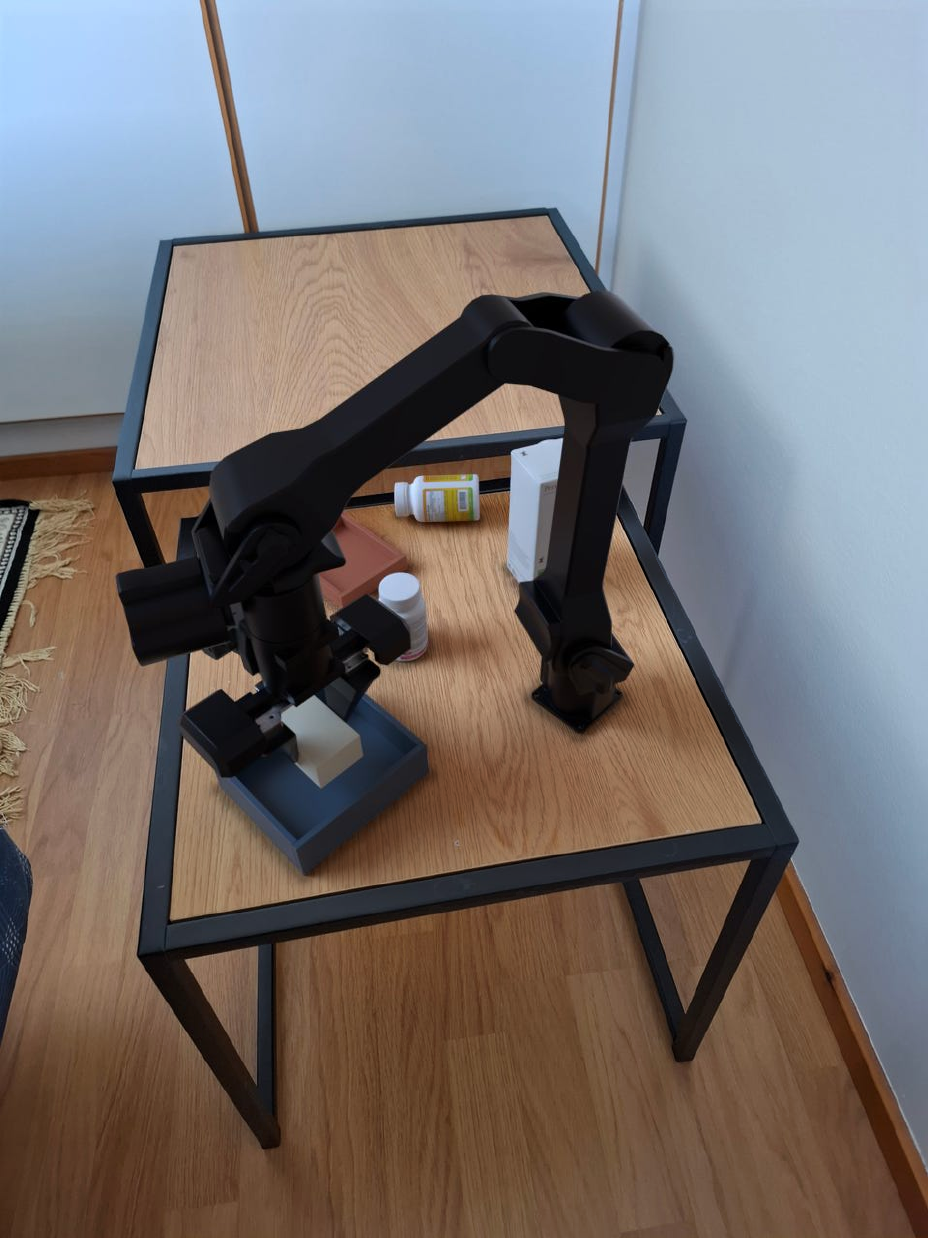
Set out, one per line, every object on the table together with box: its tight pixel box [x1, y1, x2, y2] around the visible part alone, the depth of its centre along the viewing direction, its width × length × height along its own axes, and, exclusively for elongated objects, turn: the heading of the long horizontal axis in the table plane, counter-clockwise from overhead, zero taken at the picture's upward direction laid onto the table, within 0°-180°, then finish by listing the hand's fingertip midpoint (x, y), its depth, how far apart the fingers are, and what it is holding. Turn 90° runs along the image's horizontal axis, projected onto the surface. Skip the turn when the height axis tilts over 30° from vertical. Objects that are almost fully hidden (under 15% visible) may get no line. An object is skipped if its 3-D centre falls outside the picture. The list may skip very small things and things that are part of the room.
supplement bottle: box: [394, 473, 481, 523], centre depth 102 cm, size 5×5×10 cm
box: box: [213, 689, 430, 876], centre depth 77 cm, size 12×14×4 cm
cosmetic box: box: [506, 437, 563, 584], centre depth 91 cm, size 8×7×16 cm
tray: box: [319, 511, 408, 609], centre depth 97 cm, size 11×9×2 cm
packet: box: [281, 695, 363, 788], centre depth 74 cm, size 7×5×3 cm, turn 45°
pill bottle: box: [377, 572, 429, 662], centre depth 87 cm, size 5×5×8 cm
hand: (315, 742), depth 74 cm, fingers closed on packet, 4 cm apart
